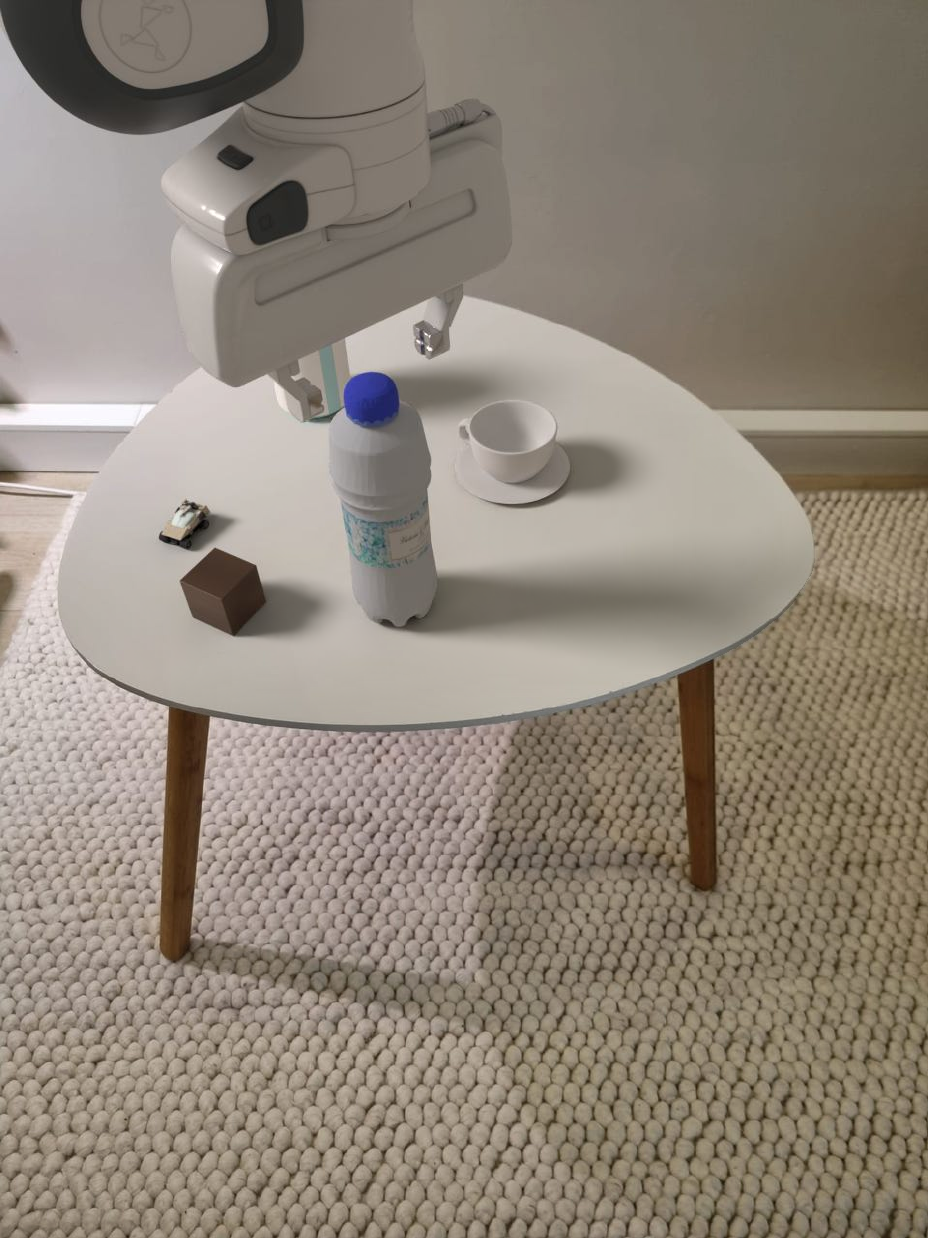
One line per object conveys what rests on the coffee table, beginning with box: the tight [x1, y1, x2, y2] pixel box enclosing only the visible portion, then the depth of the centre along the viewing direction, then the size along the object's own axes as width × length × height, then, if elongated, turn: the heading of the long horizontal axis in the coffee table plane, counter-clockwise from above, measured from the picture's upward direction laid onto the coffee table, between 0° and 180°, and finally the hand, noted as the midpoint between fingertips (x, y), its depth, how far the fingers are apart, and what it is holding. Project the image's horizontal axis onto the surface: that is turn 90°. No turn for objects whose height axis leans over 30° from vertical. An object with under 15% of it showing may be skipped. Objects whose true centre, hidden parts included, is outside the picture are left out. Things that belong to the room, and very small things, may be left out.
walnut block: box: [179, 547, 267, 637], centre depth 71 cm, size 4×4×4 cm
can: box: [272, 338, 352, 419], centre depth 86 cm, size 7×7×12 cm
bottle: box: [328, 371, 438, 628], centre depth 65 cm, size 7×7×20 cm
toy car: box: [158, 498, 211, 550], centre depth 78 cm, size 3×4×2 cm, turn 156°
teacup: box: [453, 399, 571, 505], centre depth 81 cm, size 10×10×5 cm
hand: (371, 381), depth 58 cm, fingers open, 8 cm apart
